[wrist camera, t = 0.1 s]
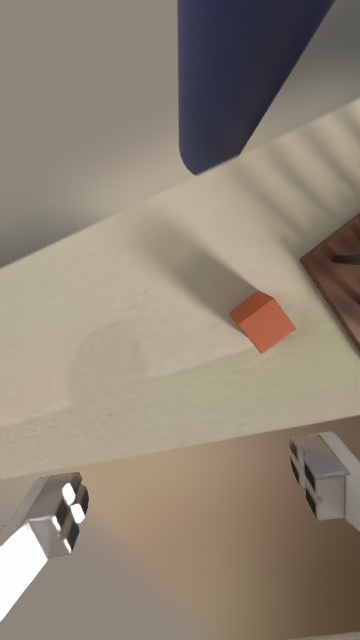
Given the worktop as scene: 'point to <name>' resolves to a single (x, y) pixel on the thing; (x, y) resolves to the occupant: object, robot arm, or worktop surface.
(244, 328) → the block
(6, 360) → the worktop surface
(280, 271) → the worktop surface
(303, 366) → the worktop surface
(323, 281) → the dish rack
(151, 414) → the worktop surface
